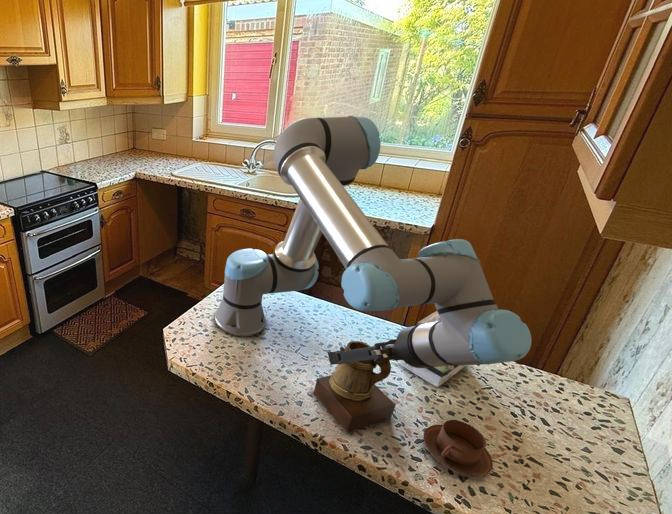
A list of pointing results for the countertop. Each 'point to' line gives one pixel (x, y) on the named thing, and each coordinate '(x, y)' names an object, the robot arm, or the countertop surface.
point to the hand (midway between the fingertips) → (357, 354)
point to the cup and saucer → (459, 448)
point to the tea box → (433, 373)
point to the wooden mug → (358, 375)
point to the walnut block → (354, 406)
